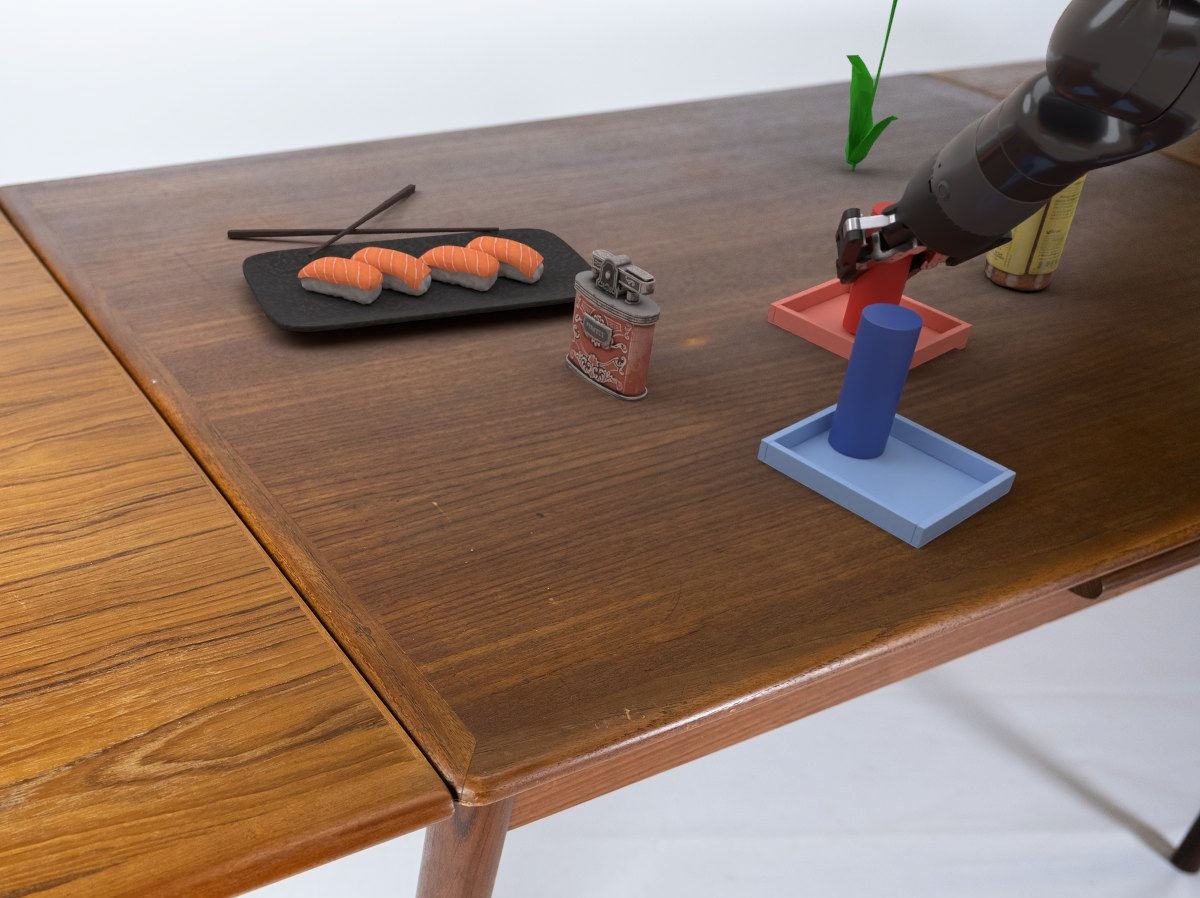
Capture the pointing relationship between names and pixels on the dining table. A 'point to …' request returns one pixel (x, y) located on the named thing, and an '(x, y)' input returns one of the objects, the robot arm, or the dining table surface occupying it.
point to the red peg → (876, 284)
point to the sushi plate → (408, 274)
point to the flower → (864, 107)
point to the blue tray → (891, 476)
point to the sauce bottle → (1035, 244)
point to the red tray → (822, 324)
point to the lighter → (613, 326)
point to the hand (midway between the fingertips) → (869, 272)
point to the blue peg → (874, 380)
